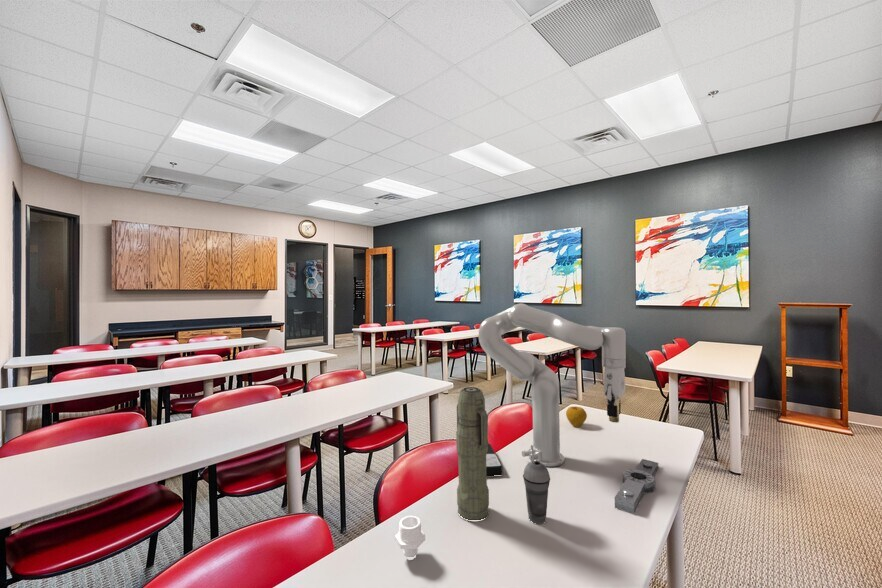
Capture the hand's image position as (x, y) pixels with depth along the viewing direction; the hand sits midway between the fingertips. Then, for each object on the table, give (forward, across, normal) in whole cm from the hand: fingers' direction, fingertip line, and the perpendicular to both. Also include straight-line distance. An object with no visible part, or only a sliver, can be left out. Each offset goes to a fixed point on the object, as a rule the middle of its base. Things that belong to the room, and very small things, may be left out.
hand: (613, 414), depth 128 cm
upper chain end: (+19, -14, -9) cm, 25 cm away
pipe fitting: (+19, -76, +25) cm, 82 cm away
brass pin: (+2, 0, 0) cm, 2 cm away
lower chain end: (+19, -1, -9) cm, 21 cm away
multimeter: (+20, -27, +39) cm, 51 cm away
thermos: (+19, -52, +23) cm, 61 cm away
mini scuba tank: (+19, -44, +8) cm, 49 cm away
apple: (+19, +31, +24) cm, 44 cm away
